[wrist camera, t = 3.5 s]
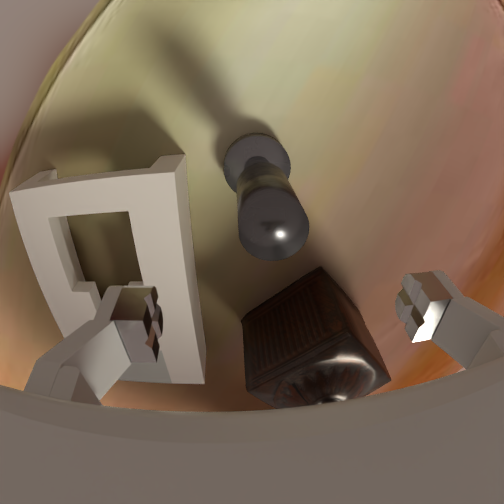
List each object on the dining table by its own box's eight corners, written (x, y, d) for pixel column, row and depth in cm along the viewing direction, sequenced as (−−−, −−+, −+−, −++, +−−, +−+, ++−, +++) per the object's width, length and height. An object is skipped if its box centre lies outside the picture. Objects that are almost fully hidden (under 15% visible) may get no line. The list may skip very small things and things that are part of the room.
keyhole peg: (288, 133, 23) (333, 178, 13) (286, 192, 25) (321, 274, 15) (223, 133, 22) (215, 178, 12) (225, 193, 25) (221, 277, 15)
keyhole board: (185, 154, 23) (174, 172, 19) (206, 349, 34) (204, 383, 30) (39, 171, 22) (8, 192, 18) (97, 345, 34) (85, 376, 29)
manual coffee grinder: (233, 320, 32) (239, 488, 17) (321, 262, 29) (389, 436, 14) (310, 379, 39) (335, 500, 24) (381, 338, 36) (432, 461, 20)
